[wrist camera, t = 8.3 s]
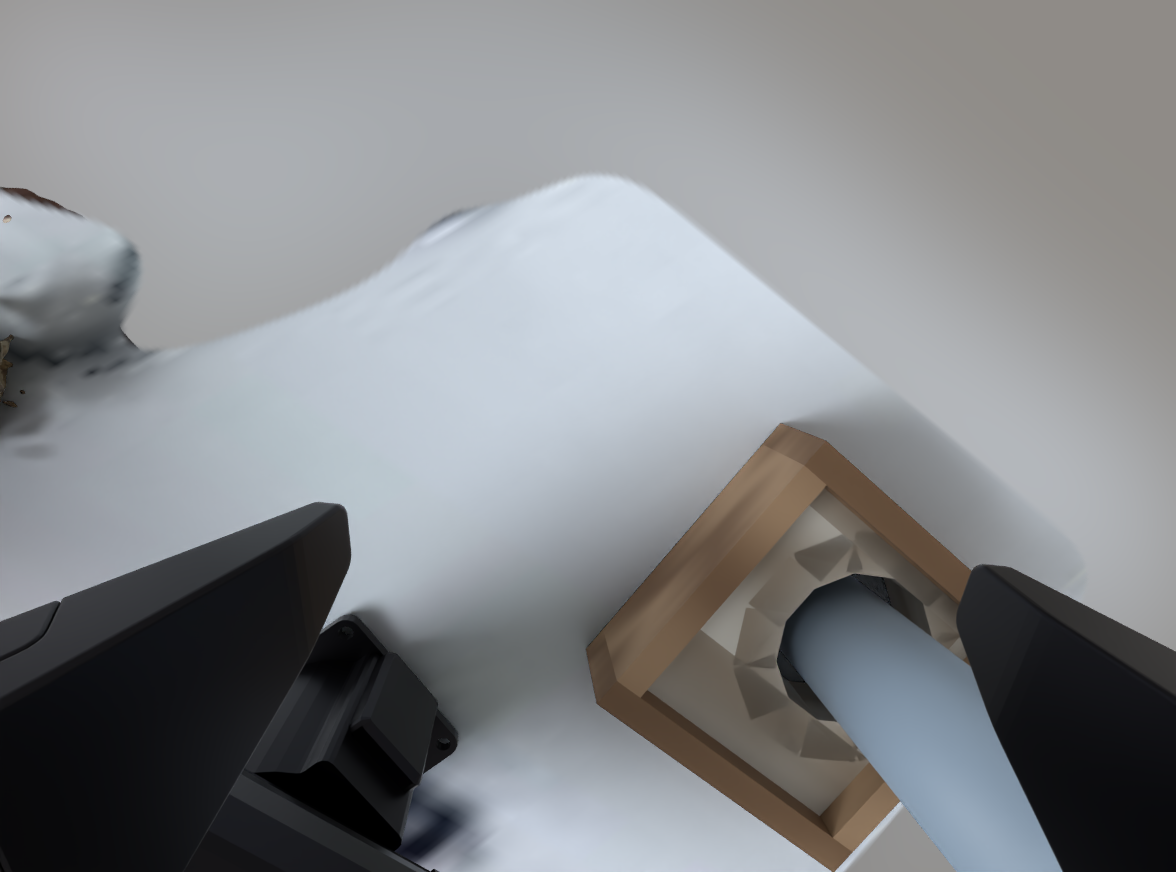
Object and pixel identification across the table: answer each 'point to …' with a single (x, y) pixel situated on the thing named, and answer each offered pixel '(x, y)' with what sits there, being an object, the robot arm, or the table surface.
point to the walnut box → (771, 639)
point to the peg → (917, 726)
